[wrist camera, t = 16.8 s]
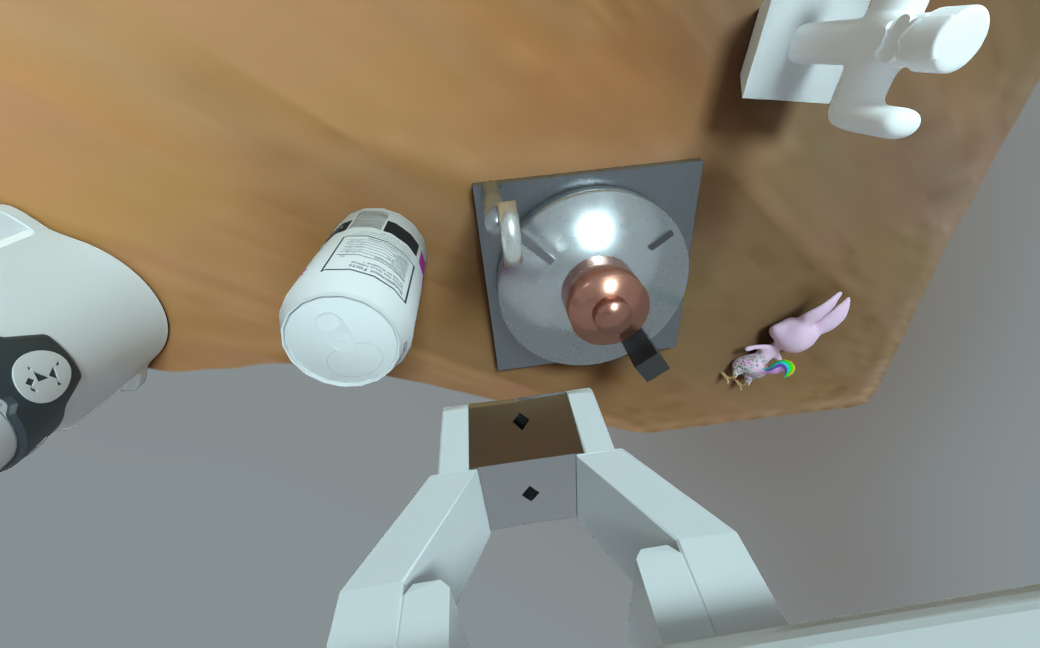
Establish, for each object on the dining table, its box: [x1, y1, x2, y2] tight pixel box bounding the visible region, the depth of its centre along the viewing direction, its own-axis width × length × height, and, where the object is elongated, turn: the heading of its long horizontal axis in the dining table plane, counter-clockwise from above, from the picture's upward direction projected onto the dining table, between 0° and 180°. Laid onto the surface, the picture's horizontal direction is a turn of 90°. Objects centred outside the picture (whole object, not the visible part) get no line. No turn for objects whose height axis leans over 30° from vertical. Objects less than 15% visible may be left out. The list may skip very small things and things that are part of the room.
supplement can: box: [279, 208, 427, 387], centre depth 32 cm, size 8×8×15 cm
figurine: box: [740, 0, 990, 139], centre depth 27 cm, size 7×9×15 cm
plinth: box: [472, 158, 703, 370], centre depth 42 cm, size 20×20×1 cm
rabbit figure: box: [721, 292, 850, 390], centre depth 47 cm, size 6×6×15 cm
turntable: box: [497, 186, 689, 382], centre depth 38 cm, size 18×18×7 cm
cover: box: [561, 256, 650, 345], centre depth 38 cm, size 7×7×5 cm
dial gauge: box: [481, 181, 555, 267], centre depth 32 cm, size 5×6×11 cm
